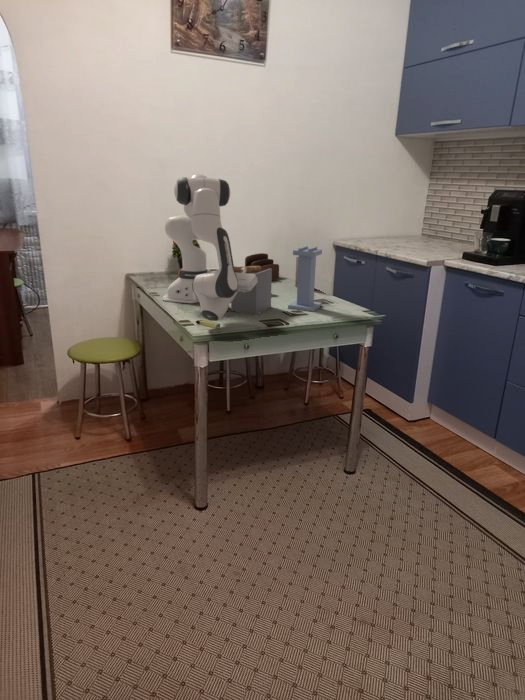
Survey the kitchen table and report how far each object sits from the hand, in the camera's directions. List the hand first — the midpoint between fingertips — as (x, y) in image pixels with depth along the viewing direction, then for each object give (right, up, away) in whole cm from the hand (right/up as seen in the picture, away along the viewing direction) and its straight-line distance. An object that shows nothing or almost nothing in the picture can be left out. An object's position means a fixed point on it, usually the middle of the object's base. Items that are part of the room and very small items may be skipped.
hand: (240, 268), depth 210 cm
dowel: (+3, 0, +6) cm, 7 cm away
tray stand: (+4, -16, +16) cm, 23 cm away
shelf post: (+29, -14, +21) cm, 39 cm away
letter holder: (+9, +7, +86) cm, 86 cm away
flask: (+30, -1, +62) cm, 69 cm away
